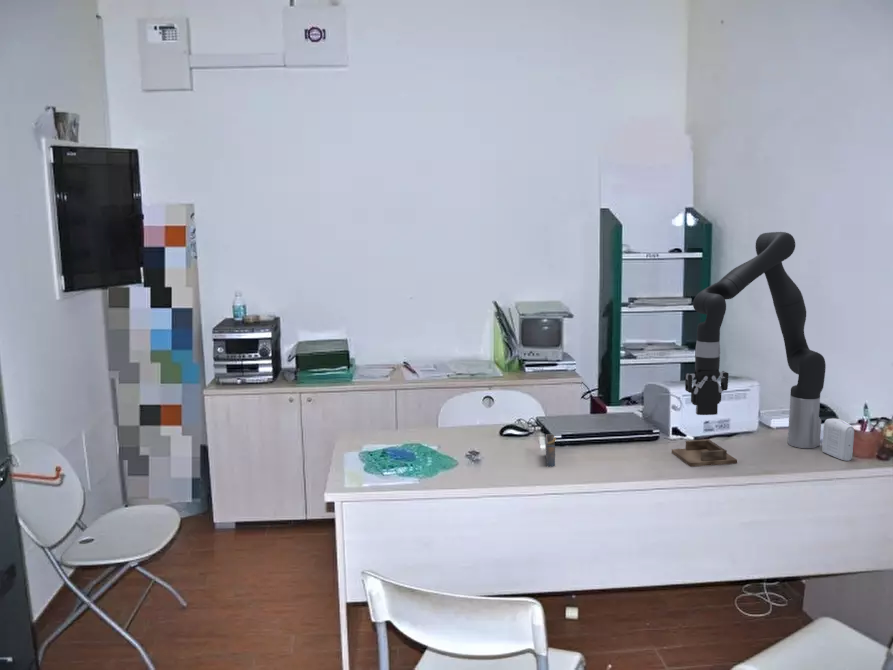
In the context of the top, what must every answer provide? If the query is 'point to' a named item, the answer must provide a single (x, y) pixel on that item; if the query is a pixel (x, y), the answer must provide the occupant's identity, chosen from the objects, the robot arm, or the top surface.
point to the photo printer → (838, 439)
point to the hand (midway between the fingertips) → (705, 403)
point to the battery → (707, 398)
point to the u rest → (703, 454)
